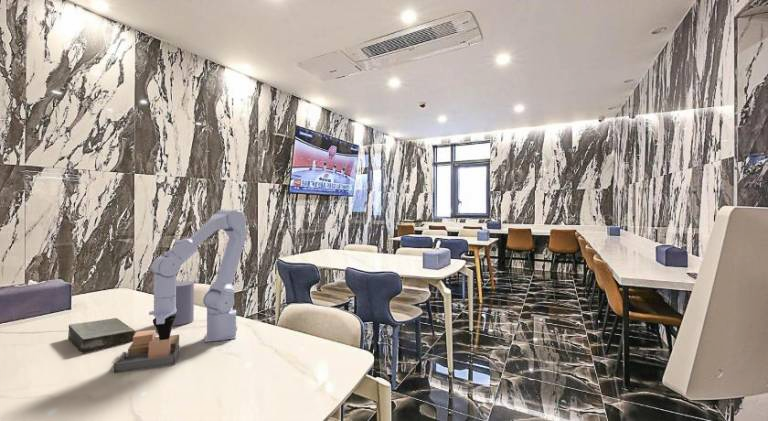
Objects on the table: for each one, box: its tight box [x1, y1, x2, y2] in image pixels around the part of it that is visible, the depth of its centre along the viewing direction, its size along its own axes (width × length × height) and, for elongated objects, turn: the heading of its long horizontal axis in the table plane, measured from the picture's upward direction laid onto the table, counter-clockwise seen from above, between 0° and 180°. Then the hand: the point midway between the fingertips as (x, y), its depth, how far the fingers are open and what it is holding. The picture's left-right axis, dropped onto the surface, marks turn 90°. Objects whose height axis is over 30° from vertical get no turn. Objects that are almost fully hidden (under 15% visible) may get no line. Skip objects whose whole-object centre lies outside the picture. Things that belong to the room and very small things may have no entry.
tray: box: [113, 344, 180, 374], centre depth 100 cm, size 14×9×2 cm, turn 113°
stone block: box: [67, 317, 136, 354], centre depth 117 cm, size 14×20×5 cm
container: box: [172, 280, 195, 327], centre depth 136 cm, size 10×10×15 cm
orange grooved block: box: [127, 334, 180, 355], centre depth 108 cm, size 12×8×3 cm, turn 113°
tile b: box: [132, 329, 157, 345], centre depth 108 cm, size 5×5×2 cm
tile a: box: [148, 339, 171, 359], centre depth 102 cm, size 5×5×2 cm
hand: (164, 340), depth 107 cm, fingers closed
